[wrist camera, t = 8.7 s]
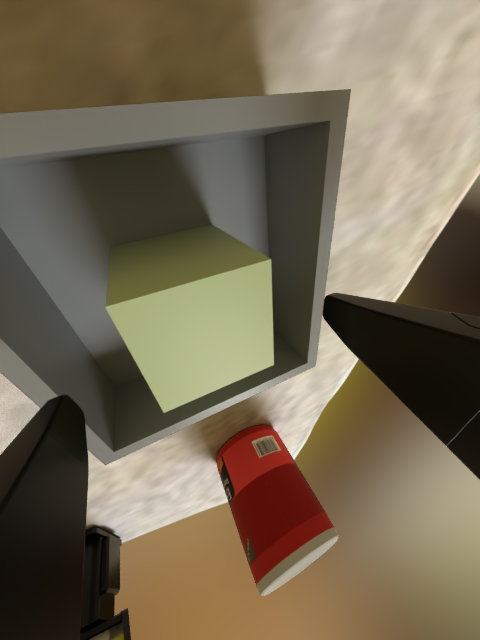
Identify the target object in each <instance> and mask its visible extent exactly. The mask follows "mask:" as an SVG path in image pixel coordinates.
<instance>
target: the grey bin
mask: <svg viewBox="0 0 480 640" xmlns="http://www.w3.org/2000/svg"><path fill="white" fill-rule="evenodd" d="M350 92H351V89H346V90H332V91H317V92H303V93H289V94H274V95H260V96H245V97H231V98H216V99H202V100H188V101H173V102H159V103H144V104H130V105H115V106H101V107H87V108H72V109H58V110H43V111H29V112H14V113H0V373H1V374H3V375H4V376H5V377H6V378H7V379H8V380H9V381H11V382H12V383H13V384H14V385H15V386H16V387H17V388H18V389H20V390H21V391H22V392H23V393H24V394H25V395H26V396H28V397H29V398H30V399H31V400H32V401H33V402H34V403H35V404H37V405H38V406H39V407H40V408H42V406H43V405H44V404H45V403H46V402H47V401H48V400H50V399H52V398H55V397H57V396H60V395H63V394H66V395H69V396H70V397H71V398H72V399H73V400H74V401H75V402H76V404H77V405H78V406H79V407H80V408H81V409H82V410H83V412H84V415H85V425H86V438H87V450H89V451H90V452H91V453H92V454H93V455H94V456H95V457H97V458H98V459H99V460H100V461H101V462H102V463H103V464H104V465H107V464H109V463H111V462H113V461H116V460H118V459H120V458H122V457H124V456H126V455H128V454H130V453H132V452H135V451H137V450H139V449H141V448H143V447H145V446H147V445H149V444H152V443H154V442H156V441H158V440H160V439H162V438H164V437H166V436H169V435H171V434H173V433H175V432H177V431H179V430H181V429H183V428H186V427H188V426H190V425H192V424H194V423H196V422H198V421H200V420H202V419H205V418H207V417H209V416H211V415H213V414H215V413H217V412H219V411H222V410H224V409H226V408H228V407H230V406H232V405H234V404H236V403H239V402H241V401H243V400H245V399H247V398H249V397H251V396H253V395H255V394H258V393H260V392H262V391H264V390H266V389H268V388H270V387H272V386H275V385H277V384H279V383H281V382H283V381H285V380H287V379H289V378H292V377H294V376H296V375H298V374H300V373H302V372H304V371H306V370H309V369H311V368H313V367H315V366H316V359H317V351H318V343H319V335H320V327H321V319H322V312H323V304H324V296H325V288H326V280H327V272H328V265H329V257H330V249H331V241H332V233H333V225H334V218H335V210H336V202H337V194H338V186H339V178H340V171H341V163H342V155H343V147H344V139H345V131H346V123H347V116H348V108H349V100H350ZM207 225H214V226H216V227H217V228H219V229H221V230H223V231H224V232H226V233H228V234H229V235H231V236H233V237H234V238H236V239H238V240H240V241H241V242H243V243H245V244H246V245H248V246H250V247H251V248H253V249H255V250H257V251H258V252H260V253H262V254H263V255H265V256H267V257H269V258H270V259H271V269H272V307H273V345H274V365H273V366H270V367H268V368H266V369H263V370H261V371H259V372H257V373H254V374H252V375H250V376H247V377H245V378H243V379H241V380H238V381H236V382H234V383H231V384H229V385H227V386H225V387H222V388H220V389H218V390H215V391H213V392H211V393H209V394H206V395H204V396H202V397H199V398H197V399H195V400H193V401H190V402H188V403H186V404H183V405H181V406H179V407H177V408H174V409H172V410H170V411H168V412H165V413H164V412H163V410H162V409H161V407H160V405H159V403H158V401H157V400H156V398H155V396H154V394H153V392H152V391H151V389H150V387H149V385H148V383H147V382H146V380H145V378H144V376H143V374H142V373H141V371H140V369H139V367H138V365H137V364H136V362H135V360H134V358H133V356H132V355H131V353H130V351H129V349H128V347H127V346H126V344H125V342H124V340H123V338H122V337H121V335H120V333H119V331H118V329H117V328H116V326H115V324H114V322H113V320H112V319H111V317H110V315H109V313H108V311H107V310H106V308H105V303H106V292H107V282H108V271H109V260H110V250H111V247H113V246H117V245H122V244H126V243H131V242H135V241H140V240H144V239H149V238H153V237H158V236H162V235H167V234H171V233H176V232H180V231H185V230H189V229H194V228H198V227H203V226H207Z"/></svg>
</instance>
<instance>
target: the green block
mask: <svg viewBox="0 0 480 640" xmlns="http://www.w3.org/2000/svg"><path fill="white" fill-rule="evenodd" d="M105 308H106V310H107V311H108V313H109V315H110V317H111V319H112V320H113V322H114V324H115V326H116V328H117V329H118V331H119V333H120V335H121V337H122V338H123V340H124V342H125V344H126V346H127V347H128V349H129V351H130V353H131V355H132V356H133V358H134V360H135V362H136V364H137V365H138V367H139V369H140V371H141V373H142V374H143V376H144V378H145V380H146V382H147V383H148V385H149V387H150V389H151V391H152V392H153V394H154V396H155V398H156V400H157V401H158V403H159V405H160V407H161V409H162V410H163V412H164V413H165V412H168V411H170V410H172V409H174V408H177V407H179V406H181V405H183V404H186V403H188V402H190V401H193V400H195V399H197V398H199V397H202V396H204V395H206V394H209V393H211V392H213V391H215V390H218V389H220V388H222V387H225V386H227V385H229V384H231V383H234V382H236V381H238V380H241V379H243V378H245V377H247V376H250V375H252V374H254V373H257V372H259V371H261V370H263V369H266V368H268V367H270V366H273V365H274V345H273V307H272V269H271V259H270V258H269V257H267V256H265V255H263V254H262V253H260V252H258V251H257V250H255V249H253V248H251V247H250V246H248V245H246V244H245V243H243V242H241V241H240V240H238V239H236V238H234V237H233V236H231V235H229V234H228V233H226V232H224V231H223V230H221V229H219V228H217V227H216V226H214V225H207V226H203V227H198V228H194V229H189V230H185V231H180V232H176V233H171V234H167V235H162V236H158V237H153V238H149V239H144V240H140V241H135V242H131V243H126V244H122V245H117V246H113V247H111V250H110V260H109V271H108V282H107V292H106V303H105Z"/></svg>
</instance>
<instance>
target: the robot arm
mask: <svg viewBox="0 0 480 640" xmlns="http://www.w3.org/2000/svg"><path fill="white" fill-rule="evenodd" d="M323 318H324V319H325V321H326V322H327V323H328V324H329V325H330V327H331V328H332V329H333V330H334V332H335V333H336V334H337V335H338V336H339V338H340V339H341V340H342V341H343V343H344V344H345V345H346V346H347V347H348V348H349V349H350V350H351V351H352V352H353V353H354V354H355V355H356V356H357V357H358V358H359V359H360V360H361V361H362V362H363V363H364V364H365V365H366V366H367V367H368V368H369V369H370V370H371V371H372V372H373V373H374V374H375V375H376V376H377V377H378V378H379V379H380V380H381V381H382V382H383V383H384V384H385V385H386V386H387V387H388V388H389V389H390V390H391V391H392V392H393V393H394V394H395V395H396V396H397V397H398V398H399V399H400V400H401V401H402V402H403V403H404V404H405V405H406V406H407V407H408V408H409V409H410V410H411V411H412V412H413V413H414V414H415V415H416V416H417V417H418V418H419V419H420V420H421V421H422V422H423V423H424V424H425V425H426V426H427V427H428V428H429V429H430V430H431V431H432V432H433V433H434V434H435V435H436V436H437V437H438V438H439V439H440V440H441V441H442V442H443V443H444V444H445V445H446V446H447V447H448V448H449V449H450V450H451V451H452V452H453V453H454V454H455V455H456V456H457V457H458V458H459V459H460V460H461V461H462V462H463V463H464V464H465V465H466V466H467V467H468V468H469V469H470V470H471V471H472V472H473V473H474V474H475V475H476V476H477V477H478V478H479V479H480V317H477V316H471V315H464V314H459V313H453V312H451V313H449V312H447V311H440V310H435V309H428V308H423V307H417V306H411V305H405V304H399V303H394V302H388V301H382V300H376V299H370V298H364V297H358V296H352V295H346V294H340V293H333V294H330V295H327V296H326V297H325V299H324V305H323ZM87 491H88V451H87V438H86V425H85V415H84V412H83V410H82V409H81V408H80V407H79V406H78V405H77V404H76V402H75V401H74V400H73V399H72V398H71V397H70V396H69V395H66V394H63V395H60V396H57V397H55V398H52V399H50V400H48V401H47V402H46V403H45V404H44V405H43V406H42V408H41V409H40V410H39V411H38V412H37V413H36V415H35V416H34V417H33V418H32V419H31V420H30V421H29V423H28V424H27V425H26V426H25V427H24V428H23V430H22V431H21V432H20V433H19V434H18V435H17V436H16V438H15V439H14V440H13V441H12V442H11V443H10V445H9V446H8V447H7V448H6V449H5V450H4V452H3V453H2V454H1V455H0V640H131V636H130V625H129V615H128V608H127V609H125V610H123V611H121V613H119V614H118V615H115V616H114V600H115V599H114V598H115V595H117V594H118V592H119V590H120V546H121V545H122V540H121V539H119V538H117V537H115V536H113V535H111V534H109V533H107V532H105V531H103V530H102V529H100V528H97V527H96V528H92V529H90V530H88V531H86V532H85V530H86V511H87Z"/></svg>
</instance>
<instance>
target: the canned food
mask: <svg viewBox="0 0 480 640" xmlns="http://www.w3.org/2000/svg"><path fill="white" fill-rule="evenodd" d="M217 468H218V471H219V474H220V477H221V481H222V484H223V487H224V490H225V493H226V496H227V499H228V502H229V505H230V508H231V511H232V514H233V517H234V520H235V523H236V526H237V529H238V532H239V535H240V539H241V542H242V545H243V548H244V551H245V554H246V557H247V560H248V563H249V566H250V569H251V572H252V574H253V577H254V580H255V583H256V586H257V588H258V590H259V592H260V596H264V595H267V594H269V593H271V592H272V591H274V590H275V589H277V588H278V587H280V586H281V585H283V584H284V583H286V582H287V581H289V580H290V579H291V578H293V577H294V576H295V575H297V574H298V573H299V572H301V571H302V570H303V569H305V568H306V567H307V566H308V565H310V564H311V563H312V562H313V561H315V560H316V559H317V558H318V557H320V556H321V555H322V554H323V553H324V552H326V551H327V550H328V549H329V548H330V547H331V546H332V545H333V544H334V543H335V542H336V541H337V540H338V537H339V536H338V534H337V532H336V530H335V528H334V526H333V524H332V523H331V521H330V519H329V518H328V516H327V514H326V512H325V511H324V509H323V507H322V506H321V504H320V502H319V501H318V499H317V497H316V496H315V494H314V492H313V491H312V489H311V488H310V486H309V484H308V483H307V481H306V479H305V478H304V476H303V475H302V473H301V471H300V470H299V468H298V466H297V465H296V463H295V461H294V460H293V458H292V456H291V455H290V453H289V451H288V450H287V448H286V447H285V445H284V443H283V442H282V440H281V438H280V437H279V435H278V433H277V432H276V431H275V430H274V429H273V428H271V427H270V426H268V425H257V426H253V427H250V428H247V429H245V430H243V431H241V432H239V433H238V434H236V435H235V436H233V437H232V438H231V439H230V440H228V441H227V442H226V443H225V444H224V445H223V447H222V448H221V449H220V451H219V453H218V455H217Z"/></svg>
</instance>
